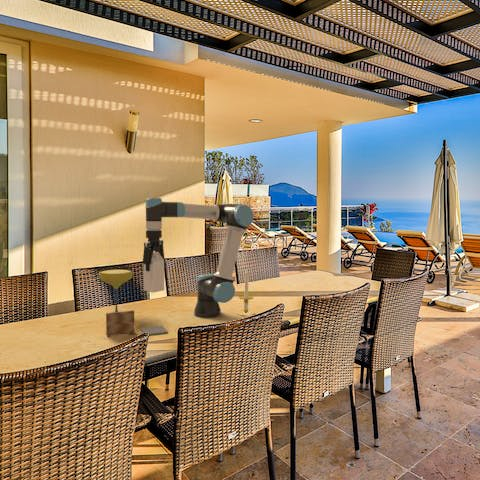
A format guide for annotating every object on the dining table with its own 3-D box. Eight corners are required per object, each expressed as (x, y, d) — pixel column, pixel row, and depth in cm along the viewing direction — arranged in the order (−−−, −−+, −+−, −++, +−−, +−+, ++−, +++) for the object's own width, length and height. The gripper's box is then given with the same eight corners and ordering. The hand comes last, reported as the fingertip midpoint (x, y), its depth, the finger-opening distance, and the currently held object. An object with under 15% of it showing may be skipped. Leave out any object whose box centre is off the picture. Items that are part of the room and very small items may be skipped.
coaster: (162, 326, 214) (162, 325, 214) (167, 333, 204) (167, 331, 204) (140, 329, 210) (140, 327, 210) (145, 335, 200) (145, 334, 200)
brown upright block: (133, 330, 207) (133, 309, 206) (135, 334, 202) (135, 311, 201) (105, 334, 201) (105, 311, 200) (107, 337, 197) (106, 314, 196)
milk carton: (143, 290, 204) (143, 252, 202) (154, 288, 210) (154, 251, 208) (153, 293, 200) (152, 253, 198) (164, 290, 206) (164, 252, 204)
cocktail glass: (118, 308, 247) (118, 266, 244) (139, 314, 237) (139, 270, 234) (92, 315, 232) (91, 271, 229) (114, 321, 222) (113, 275, 219)
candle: (255, 311, 246) (256, 266, 243) (253, 316, 236) (255, 269, 233) (238, 311, 247) (239, 265, 244) (236, 315, 237) (237, 268, 234)
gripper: (158, 228, 213) (158, 271, 215) (134, 231, 193) (134, 279, 196) (171, 228, 210) (171, 273, 213) (148, 231, 191) (148, 280, 193)
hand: (153, 276), depth 204 cm, fingers closed on milk carton, 8 cm apart
